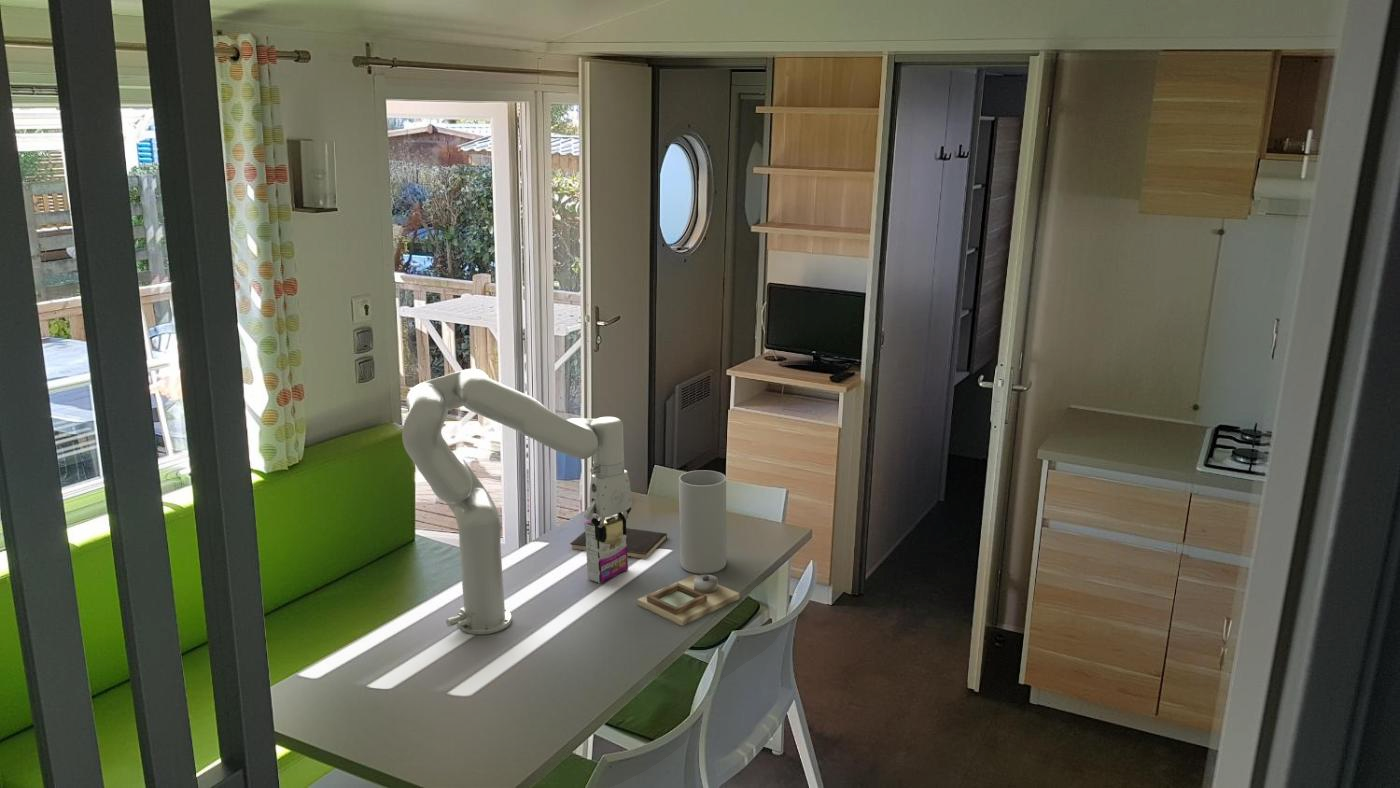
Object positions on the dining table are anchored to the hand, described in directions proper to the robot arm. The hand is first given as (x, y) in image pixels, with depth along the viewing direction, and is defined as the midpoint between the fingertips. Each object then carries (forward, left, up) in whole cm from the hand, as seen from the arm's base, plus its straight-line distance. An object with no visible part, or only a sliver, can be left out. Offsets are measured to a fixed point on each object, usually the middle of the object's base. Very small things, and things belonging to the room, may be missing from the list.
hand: (611, 536), depth 254 cm
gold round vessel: (0, 0, -1) cm, 1 cm away
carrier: (+13, -14, -17) cm, 26 cm away
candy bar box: (+9, +13, -18) cm, 24 cm away
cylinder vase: (+31, -1, -18) cm, 36 cm away
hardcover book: (+25, +27, -18) cm, 41 cm away
